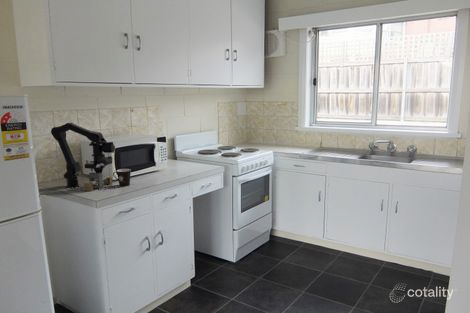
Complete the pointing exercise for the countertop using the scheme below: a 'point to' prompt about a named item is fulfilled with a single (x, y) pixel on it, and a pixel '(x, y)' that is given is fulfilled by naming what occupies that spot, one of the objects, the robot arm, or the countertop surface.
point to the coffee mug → (123, 177)
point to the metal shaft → (89, 185)
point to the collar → (99, 177)
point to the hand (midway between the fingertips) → (99, 176)
